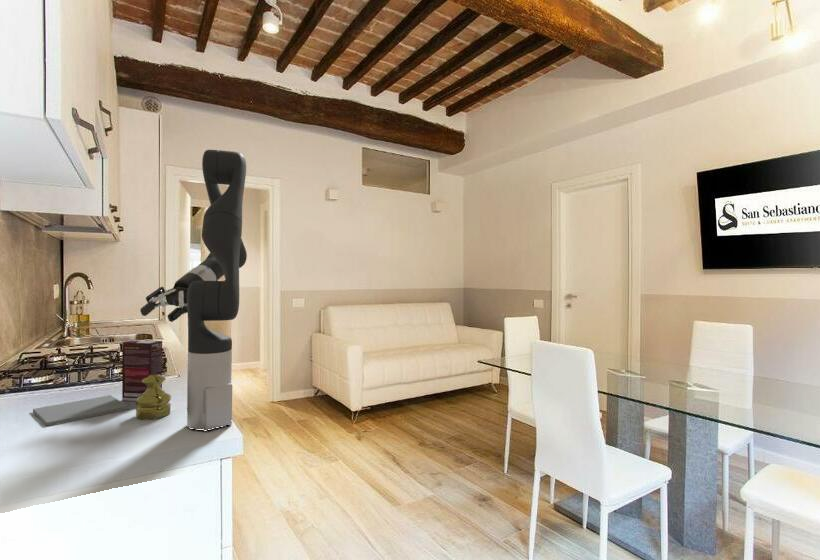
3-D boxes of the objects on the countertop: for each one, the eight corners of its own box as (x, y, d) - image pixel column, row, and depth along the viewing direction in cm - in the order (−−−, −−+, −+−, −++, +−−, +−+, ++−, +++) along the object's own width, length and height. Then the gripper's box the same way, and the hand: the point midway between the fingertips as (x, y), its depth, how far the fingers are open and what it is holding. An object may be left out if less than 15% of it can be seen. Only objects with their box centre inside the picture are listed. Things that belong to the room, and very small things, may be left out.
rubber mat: (128, 409, 108) (128, 406, 108) (46, 426, 95) (46, 422, 95) (110, 398, 116) (110, 395, 116) (33, 412, 104) (33, 408, 104)
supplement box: (163, 397, 118) (163, 340, 118) (150, 402, 114) (151, 343, 113) (134, 395, 119) (134, 339, 119) (120, 400, 114) (121, 342, 114)
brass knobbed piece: (177, 412, 106) (178, 372, 106) (150, 422, 99) (151, 379, 99) (156, 408, 109) (156, 369, 109) (128, 417, 102) (128, 376, 102)
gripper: (171, 268, 125) (128, 300, 112) (214, 276, 122) (174, 309, 109) (179, 289, 129) (138, 322, 116) (220, 297, 126) (182, 332, 113)
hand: (155, 316), depth 113 cm, fingers open, 8 cm apart
